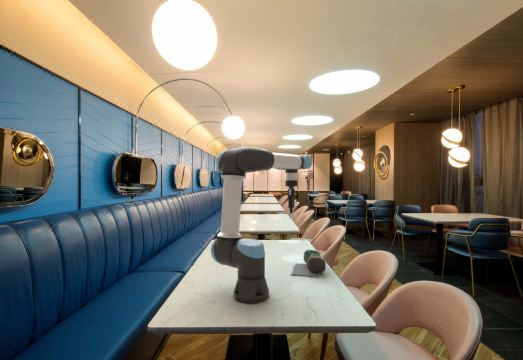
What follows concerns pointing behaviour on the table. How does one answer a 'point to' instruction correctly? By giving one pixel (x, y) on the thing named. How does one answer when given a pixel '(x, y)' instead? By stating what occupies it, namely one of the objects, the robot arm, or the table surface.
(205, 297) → the table surface
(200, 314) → the table surface
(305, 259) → the coffee jar
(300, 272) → the mat
